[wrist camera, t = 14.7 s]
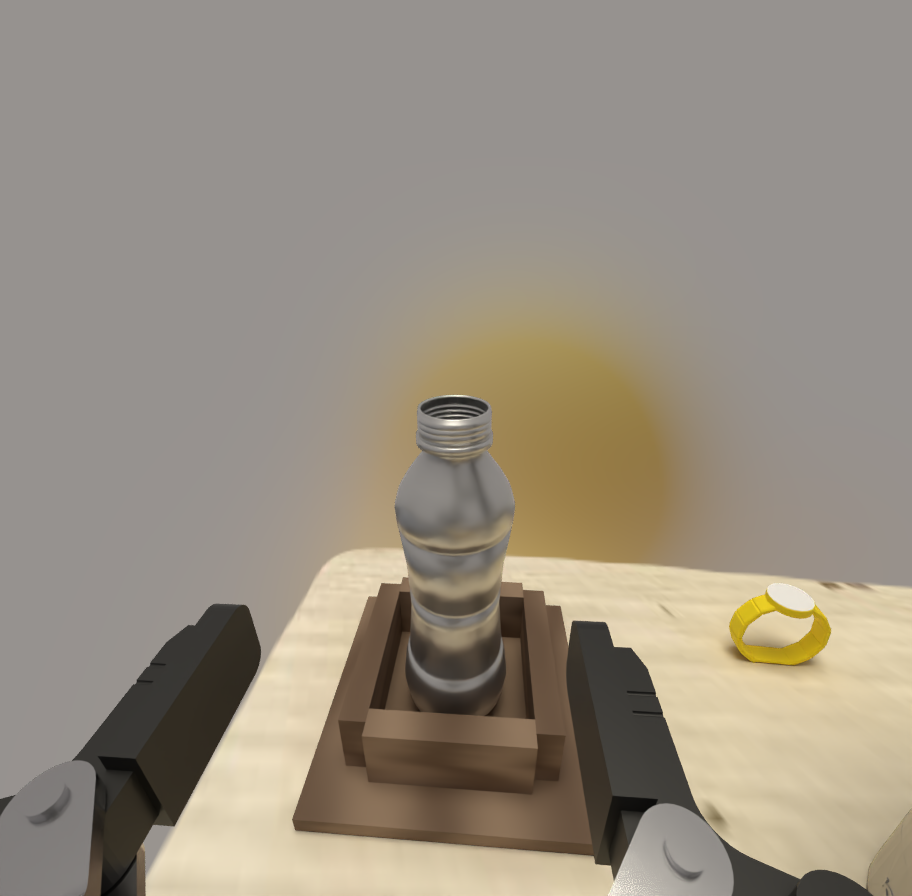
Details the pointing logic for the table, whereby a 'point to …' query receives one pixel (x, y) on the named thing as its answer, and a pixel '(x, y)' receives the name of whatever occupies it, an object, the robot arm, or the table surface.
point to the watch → (789, 604)
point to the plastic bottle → (455, 558)
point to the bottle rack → (451, 742)
